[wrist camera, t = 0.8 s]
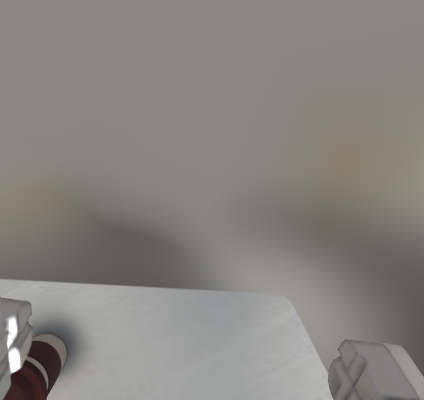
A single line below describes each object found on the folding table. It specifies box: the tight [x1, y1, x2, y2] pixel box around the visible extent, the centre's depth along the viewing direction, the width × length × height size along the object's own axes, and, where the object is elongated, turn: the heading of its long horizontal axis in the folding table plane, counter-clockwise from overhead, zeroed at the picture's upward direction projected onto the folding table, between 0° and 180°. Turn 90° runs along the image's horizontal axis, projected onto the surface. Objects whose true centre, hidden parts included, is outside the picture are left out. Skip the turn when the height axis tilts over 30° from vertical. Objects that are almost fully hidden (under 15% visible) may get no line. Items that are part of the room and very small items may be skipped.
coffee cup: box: [3, 334, 67, 400], centre depth 50 cm, size 10×10×15 cm
